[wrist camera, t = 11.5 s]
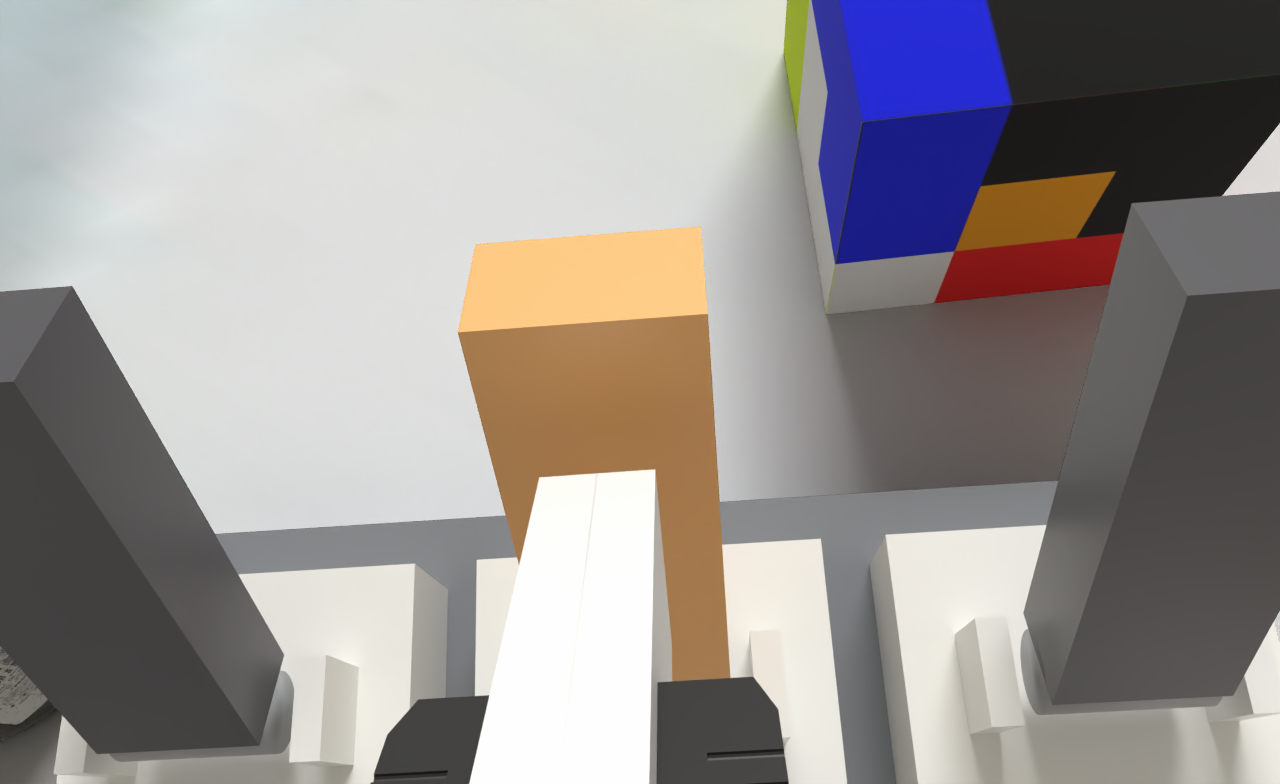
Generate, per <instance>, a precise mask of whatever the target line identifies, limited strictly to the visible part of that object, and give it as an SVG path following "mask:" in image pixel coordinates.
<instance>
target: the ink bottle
mask: <svg viewBox="0 0 1280 784" xmlns="http://www.w3.org/2000/svg"><path fill="white" fill-rule="evenodd" d="M55 709H56V708H55V707H54V706H53V704H52V703H51V702H50V701H49V700H48V699H47V698H46V697H45V696H44V694H43V693H42V692H41V691H40V690H39V689H38V688H37V687H36V685H35V684H34V683H33V682H32V681H31V680H30V679H29V678H28V677H27V675H26V674H25V673H24V672H23V671H22V670H21V669H20V668H19V666H18V665H17V664H16V663H15V662H14V661H13V660H12V659H11V658H10V656H9V655H8V654H7V653H6V652H5V651H4V650H3V649H2V647H1V646H0V741H2V740H4V739H7V738H9V737H11V736H13V735H15V734H17V733H19V732H21V731H23V730H25V729H27V728H28V727H30V726H32V725H33V724H35V723H37V722H38V721H40V720H41V719H43V718H44V717H46V716H47V715H48V714H50V713H51V712H52V711H54V710H55Z"/></svg>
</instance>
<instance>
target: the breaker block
mask: <svg viewBox="0 0 1280 784" xmlns="http://www.w3.org/2000/svg"><path fill="white" fill-rule="evenodd" d="M720 518H721V534H722V550H723V566H724V582H725V598H726V614H727V630H728V646H729V662H730V678H739V677H754V678H755V679H756V681H757V682H758V683H759V685H760V686H761V687H762V689H763V690H764V691H765V693H766V694H767V695H768V696H769V698H770V699H771V700H772V702H773V703H774V704H775V706H776V707H777V708H778V711H779V718H780V725H781V732H782V739H783V746H784V755H785V759H786V766H787V773H788V780H789V784H1280V642H1279V638H1278V635H1277V631H1276V627H1275V623H1274V620H1275V618H1276V616H1277V615H1278V613H1279V611H1280V192H1269V193H1256V194H1243V195H1230V196H1218V197H1205V198H1192V199H1179V200H1167V201H1154V202H1141V203H1132V204H1131V208H1130V212H1129V215H1128V219H1127V223H1126V227H1125V231H1124V234H1123V238H1122V242H1121V246H1120V249H1119V253H1118V257H1117V261H1116V265H1115V268H1114V272H1113V276H1112V280H1111V283H1110V287H1109V291H1108V295H1107V299H1106V302H1105V306H1104V310H1103V314H1102V317H1101V321H1100V325H1099V329H1098V333H1097V336H1096V340H1095V344H1094V348H1093V351H1092V355H1091V359H1090V363H1089V366H1088V370H1087V374H1086V378H1085V382H1084V385H1083V389H1082V393H1081V397H1080V400H1079V404H1078V408H1077V412H1076V416H1075V419H1074V423H1073V427H1072V431H1071V434H1070V438H1069V442H1068V446H1067V450H1066V453H1065V457H1064V461H1063V465H1062V468H1061V472H1060V476H1059V480H1058V481H1042V482H1027V483H1011V484H995V485H979V486H964V487H948V488H932V489H917V490H901V491H885V492H869V493H854V494H838V495H822V496H806V497H791V498H775V499H759V500H744V501H728V502H720ZM518 569H519V564H518V560H517V556H516V552H515V548H514V545H513V541H512V537H511V533H510V529H509V526H508V522H507V518H506V516H492V517H476V518H460V519H445V520H429V521H413V522H398V523H382V524H366V525H350V526H335V527H319V528H303V529H287V530H272V531H256V532H240V533H225V534H215V533H214V532H213V530H212V528H211V526H210V525H209V523H208V521H207V520H206V518H205V516H204V514H203V513H202V511H201V509H200V507H199V506H198V504H197V502H196V500H195V499H194V497H193V495H192V493H191V492H190V490H189V488H188V487H187V485H186V483H185V481H184V480H183V478H182V476H181V474H180V473H179V471H178V469H177V467H176V466H175V464H174V462H173V460H172V459H171V457H170V455H169V453H168V452H167V450H166V448H165V447H164V445H163V443H162V441H161V440H160V438H159V436H158V434H157V433H156V431H155V429H154V427H153V426H152V424H151V422H150V420H149V419H148V417H147V415H146V414H145V412H144V410H143V408H142V407H141V405H140V403H139V401H138V400H137V398H136V396H135V394H134V393H133V391H132V389H131V387H130V386H129V384H128V382H127V380H126V379H125V377H124V375H123V374H122V372H121V370H120V368H119V367H118V365H117V363H116V361H115V360H114V358H113V356H112V354H111V353H110V351H109V349H108V347H107V346H106V344H105V342H104V341H103V339H102V337H101V335H100V334H99V332H98V330H97V328H96V327H95V325H94V323H93V321H92V320H91V318H90V316H89V314H88V313H87V311H86V309H85V307H84V306H83V304H82V302H81V301H80V299H79V297H78V295H77V294H76V292H75V290H74V288H73V287H72V286H69V287H56V288H43V289H30V290H18V291H5V292H0V646H1V647H2V649H3V650H4V651H5V652H6V653H7V654H8V655H9V656H10V658H11V659H12V660H13V661H14V662H15V663H16V664H17V665H18V666H19V668H20V669H21V670H22V671H23V672H24V673H25V674H26V675H27V677H28V678H29V679H30V680H31V681H32V682H33V683H34V684H35V685H36V687H37V688H38V689H39V690H40V691H41V692H42V693H43V694H44V696H45V697H46V698H47V699H48V700H49V701H50V702H51V703H52V704H53V706H54V707H55V708H56V709H57V710H58V711H59V712H60V713H61V715H62V720H61V726H60V733H59V740H58V746H57V753H56V760H55V766H54V773H53V774H55V775H57V781H56V784H370V783H371V782H373V781H374V772H375V769H376V766H377V763H378V760H379V757H380V754H381V751H382V748H383V746H384V743H385V740H386V737H387V734H388V733H389V732H390V731H391V730H392V729H393V728H394V726H395V725H396V724H397V723H398V722H399V721H400V720H401V718H402V717H403V716H404V715H405V714H406V713H407V712H408V711H409V709H410V708H411V707H412V706H413V705H414V704H415V703H416V701H417V700H418V699H433V698H450V697H468V696H485V695H490V691H491V687H492V682H493V678H494V673H495V669H496V665H497V660H498V656H499V652H500V647H501V643H502V639H503V634H504V630H505V625H506V621H507V617H508V612H509V608H510V604H511V599H512V595H513V590H514V586H515V582H516V577H517V573H518Z"/></svg>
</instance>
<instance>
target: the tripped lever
mask: <svg viewBox="0 0 1280 784" xmlns="http://www.w3.org/2000/svg"><path fill="white" fill-rule="evenodd" d="M458 335H459V338H460V342H461V346H462V350H463V354H464V357H465V361H466V365H467V369H468V373H469V377H470V380H471V384H472V388H473V392H474V396H475V399H476V403H477V407H478V411H479V415H480V419H481V422H482V426H483V430H484V434H485V438H486V441H487V445H488V449H489V453H490V457H491V461H492V464H493V468H494V472H495V476H496V480H497V484H498V487H499V491H500V495H501V499H502V503H503V506H504V510H505V514H506V518H507V522H508V526H509V529H510V533H511V537H512V541H513V545H514V548H515V552H516V556H517V560H518V564H520V560H521V555H522V551H523V547H524V542H525V538H526V534H527V529H528V525H529V521H530V516H531V512H532V507H533V503H534V499H535V494H536V490H537V486H538V481H539V477H553V476H567V475H581V474H596V473H610V472H625V471H639V470H653V469H655V471H656V482H657V492H658V503H659V513H660V524H661V535H662V545H663V556H664V566H665V577H666V587H667V598H668V608H669V619H670V629H671V640H672V681H687V680H704V679H721V678H730V662H729V646H728V630H727V614H726V598H725V582H724V566H723V550H722V534H721V518H720V502H719V486H718V470H717V454H716V438H715V422H714V406H713V390H712V374H711V358H710V342H709V326H708V311H707V299H706V286H705V274H704V262H703V249H702V237H701V227H689V228H676V229H664V230H651V231H638V232H626V233H613V234H600V235H588V236H575V237H562V238H550V239H537V240H524V241H512V242H499V243H486V244H475V249H474V254H473V259H472V264H471V269H470V274H469V279H468V284H467V289H466V294H465V299H464V304H463V309H462V314H461V319H460V324H459V329H458Z"/></svg>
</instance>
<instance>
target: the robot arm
mask: <svg viewBox="0 0 1280 784" xmlns="http://www.w3.org/2000/svg"><path fill="white" fill-rule="evenodd" d="M370 784H789V780H788V773H787V766H786V759H785V755H784V746H783V739H782V732H781V725H780V718H779V711H778V708H777V707H776V706H775V704H774V703H773V702H772V700H771V699H770V698H769V696H768V695H767V694H766V693H765V691H764V690H763V689H762V687H761V686H760V685H759V683H758V682H757V681H756V679H755V678H754V677H739V678H721V679H704V680H687V681H672V640H671V629H670V619H669V608H668V598H667V587H666V577H665V566H664V556H663V545H662V535H661V524H660V513H659V503H658V492H657V482H656V471H655V469H653V470H639V471H625V472H610V473H596V474H581V475H567V476H553V477H539V481H538V486H537V490H536V494H535V499H534V503H533V507H532V512H531V516H530V521H529V525H528V529H527V534H526V538H525V542H524V547H523V551H522V555H521V560H520V564H519V569H518V573H517V577H516V582H515V586H514V590H513V595H512V599H511V604H510V608H509V612H508V617H507V621H506V625H505V630H504V634H503V639H502V643H501V647H500V652H499V656H498V660H497V665H496V669H495V673H494V678H493V682H492V687H491V691H490V695H485V696H468V697H450V698H433V699H418V700H417V701H416V703H415V704H414V705H413V706H412V707H411V708H410V709H409V711H408V712H407V713H406V714H405V715H404V716H403V717H402V718H401V720H400V721H399V722H398V723H397V724H396V725H395V726H394V728H393V729H392V730H391V731H390V732H389V733H388V734H387V737H386V740H385V743H384V746H383V748H382V751H381V754H380V757H379V760H378V763H377V766H376V769H375V772H374V781H373V782H371V783H370Z"/></svg>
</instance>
